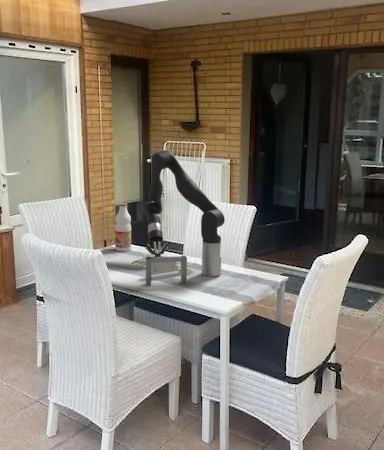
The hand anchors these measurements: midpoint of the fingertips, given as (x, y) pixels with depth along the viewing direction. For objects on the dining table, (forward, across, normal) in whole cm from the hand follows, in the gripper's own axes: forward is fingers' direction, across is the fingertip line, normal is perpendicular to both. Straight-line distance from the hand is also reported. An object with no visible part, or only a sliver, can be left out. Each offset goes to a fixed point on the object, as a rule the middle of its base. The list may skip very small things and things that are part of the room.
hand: (158, 260), depth 259 cm
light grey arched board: (+13, 0, -6) cm, 14 cm away
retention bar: (+21, 0, -15) cm, 26 cm away
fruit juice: (-26, -15, +33) cm, 44 cm away
